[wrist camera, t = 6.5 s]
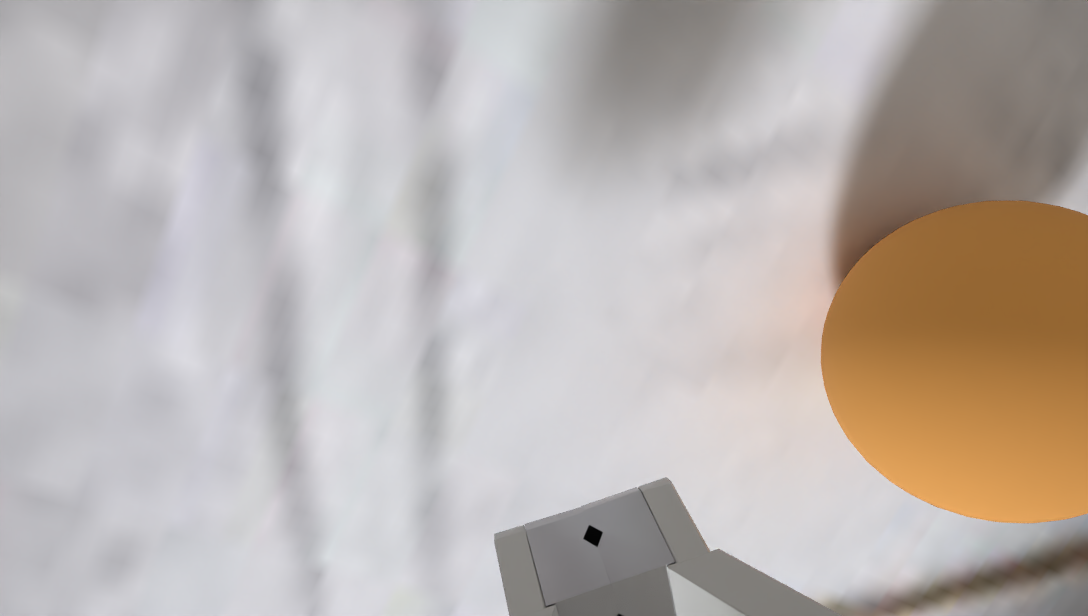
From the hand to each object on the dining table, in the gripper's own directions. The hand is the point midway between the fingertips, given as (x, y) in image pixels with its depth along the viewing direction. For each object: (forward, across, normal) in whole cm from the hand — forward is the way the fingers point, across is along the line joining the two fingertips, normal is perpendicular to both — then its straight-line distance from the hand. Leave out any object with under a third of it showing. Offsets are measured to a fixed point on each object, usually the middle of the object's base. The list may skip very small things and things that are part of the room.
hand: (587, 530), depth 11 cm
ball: (+1, +8, 0) cm, 8 cm away
